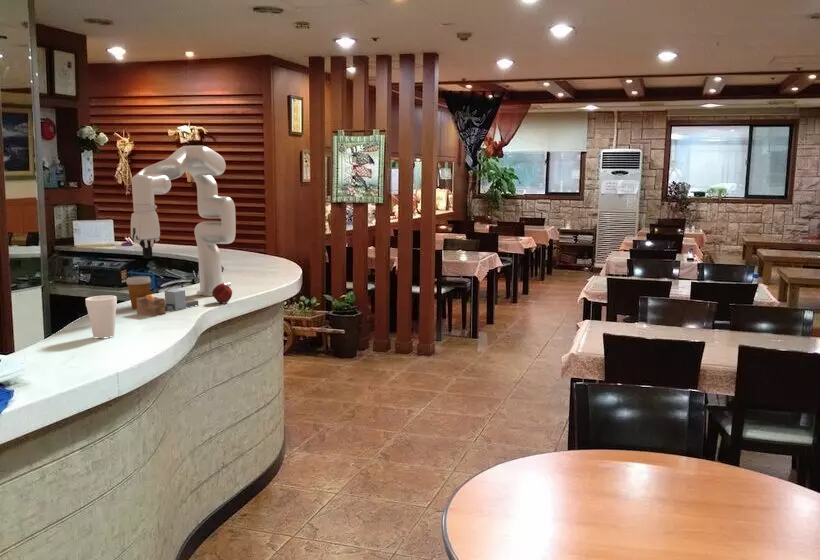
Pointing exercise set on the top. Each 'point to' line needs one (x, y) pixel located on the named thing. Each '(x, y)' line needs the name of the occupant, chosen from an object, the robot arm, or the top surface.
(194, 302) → the rail
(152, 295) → the peg
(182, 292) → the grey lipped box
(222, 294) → the apple
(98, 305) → the foam cup
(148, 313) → the tan slotted block
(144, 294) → the disposable coffee cup
